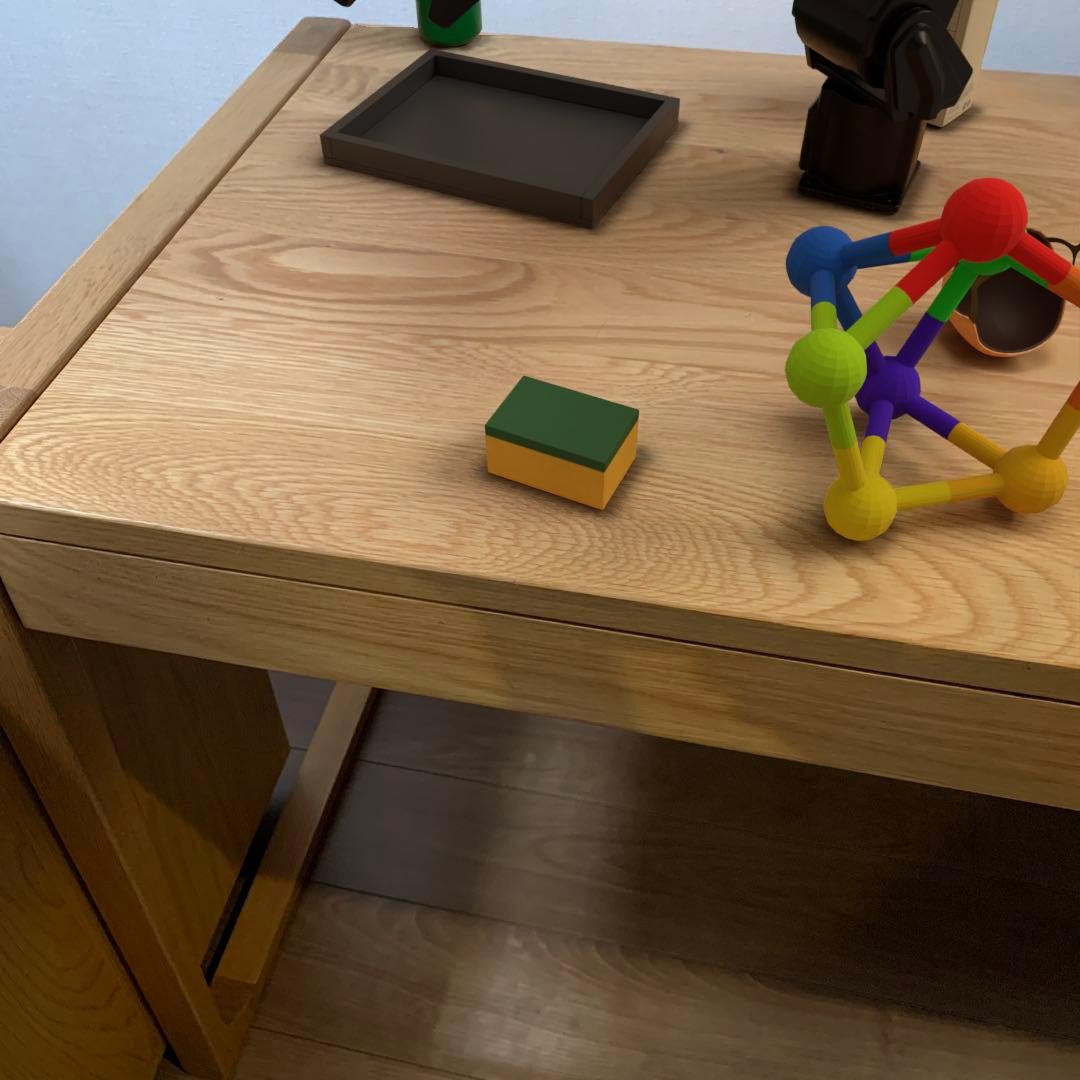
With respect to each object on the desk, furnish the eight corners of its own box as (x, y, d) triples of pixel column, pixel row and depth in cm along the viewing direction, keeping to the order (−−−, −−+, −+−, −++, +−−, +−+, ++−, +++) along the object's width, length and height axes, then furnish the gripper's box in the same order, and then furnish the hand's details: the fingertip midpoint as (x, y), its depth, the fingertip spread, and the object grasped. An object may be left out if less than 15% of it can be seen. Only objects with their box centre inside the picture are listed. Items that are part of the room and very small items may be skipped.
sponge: (524, 422, 53) (523, 374, 51) (636, 457, 51) (639, 409, 49) (487, 472, 51) (484, 424, 49) (602, 510, 49) (604, 463, 47)
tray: (678, 126, 74) (680, 97, 73) (592, 229, 65) (593, 199, 64) (432, 75, 80) (430, 48, 79) (324, 163, 71) (319, 134, 70)
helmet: (1129, 307, 50) (1059, 347, 58) (1078, 174, 50) (1015, 231, 58) (1008, 348, 50) (955, 382, 58) (959, 215, 50) (912, 267, 58)
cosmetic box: (972, 109, 75) (1027, -83, 66) (941, 131, 73) (994, -65, 64) (891, 82, 78) (934, -105, 69) (859, 103, 76) (899, -88, 67)
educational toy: (931, 351, 57) (1045, 73, 46) (1091, 521, 49) (1275, 236, 38) (669, 408, 53) (722, 118, 42) (797, 604, 45) (906, 311, 34)
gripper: (486, -378, 50) (357, -45, 58) (247, -630, 34) (109, -121, 41) (680, -261, 49) (522, 64, 56) (527, -466, 33) (333, 29, 40)
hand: (390, 14), depth 48 cm, fingers open, 9 cm apart
